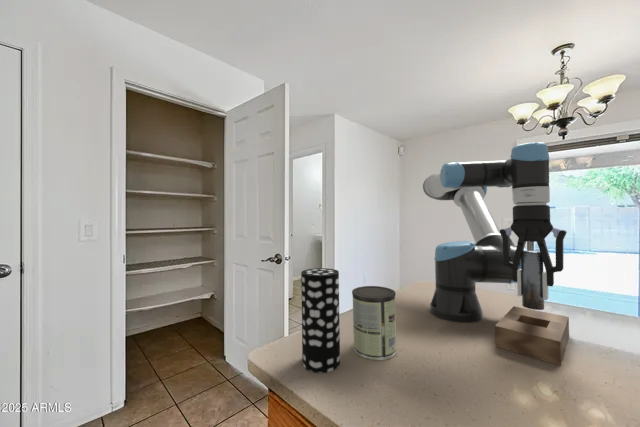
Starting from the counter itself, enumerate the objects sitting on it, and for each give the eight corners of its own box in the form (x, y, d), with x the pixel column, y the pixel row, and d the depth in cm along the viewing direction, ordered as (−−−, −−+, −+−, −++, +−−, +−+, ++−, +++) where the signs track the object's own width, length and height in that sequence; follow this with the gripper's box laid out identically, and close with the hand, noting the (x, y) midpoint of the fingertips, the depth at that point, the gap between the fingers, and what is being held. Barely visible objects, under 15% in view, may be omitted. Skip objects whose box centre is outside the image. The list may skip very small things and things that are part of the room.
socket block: (495, 346, 66) (494, 325, 66) (514, 323, 80) (513, 306, 80) (560, 365, 57) (560, 341, 57) (569, 335, 71) (568, 316, 71)
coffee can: (357, 337, 72) (356, 284, 72) (397, 343, 68) (396, 287, 69) (348, 356, 62) (347, 295, 62) (395, 364, 59) (393, 299, 59)
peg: (520, 306, 69) (519, 251, 69) (524, 303, 72) (522, 250, 72) (542, 311, 65) (541, 253, 66) (545, 306, 68) (544, 251, 69)
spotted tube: (312, 377, 54) (311, 277, 55) (296, 358, 62) (295, 270, 62) (347, 366, 58) (345, 273, 58) (328, 349, 66) (327, 267, 66)
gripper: (487, 205, 73) (489, 293, 72) (576, 202, 60) (579, 308, 60) (495, 206, 78) (496, 287, 78) (578, 203, 65) (581, 300, 65)
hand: (532, 296), depth 69 cm, fingers closed on peg, 4 cm apart
